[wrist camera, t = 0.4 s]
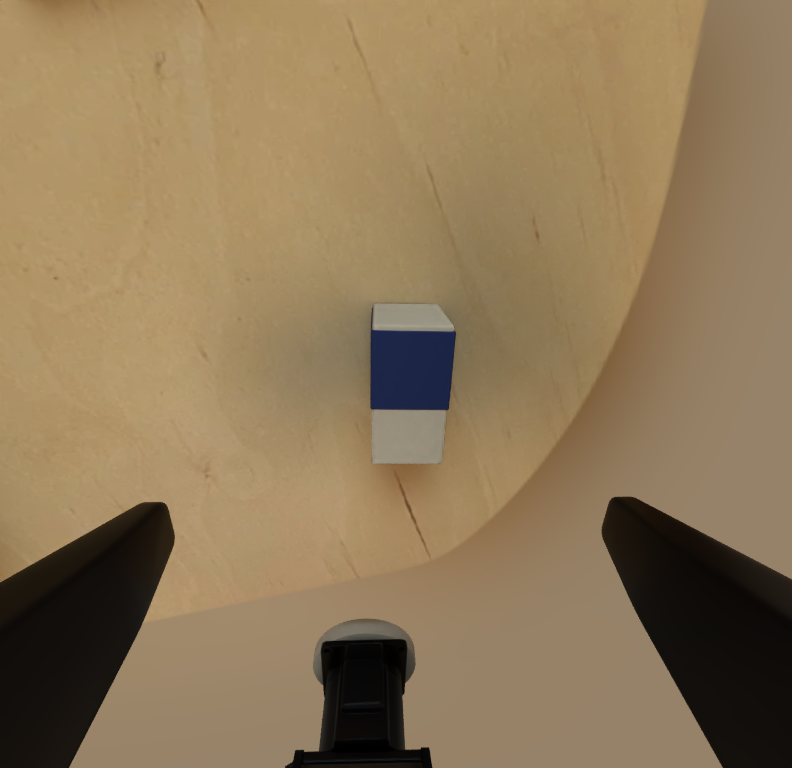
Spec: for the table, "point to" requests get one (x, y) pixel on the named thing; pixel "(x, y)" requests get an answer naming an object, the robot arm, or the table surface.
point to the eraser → (410, 382)
